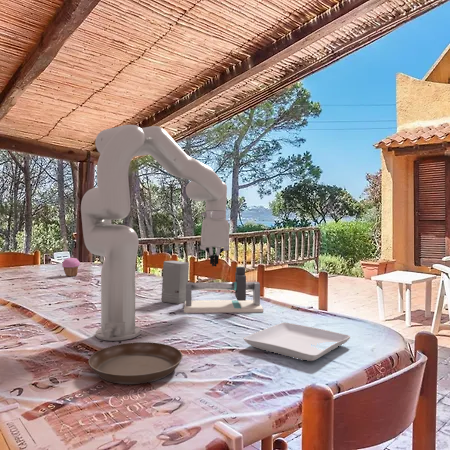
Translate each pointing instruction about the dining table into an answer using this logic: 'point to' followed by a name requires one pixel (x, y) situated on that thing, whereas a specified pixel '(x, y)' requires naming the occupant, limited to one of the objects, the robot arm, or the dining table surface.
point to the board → (222, 306)
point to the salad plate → (295, 340)
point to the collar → (240, 284)
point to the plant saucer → (135, 362)
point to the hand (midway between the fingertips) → (214, 266)
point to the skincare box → (174, 281)
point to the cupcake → (71, 266)
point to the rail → (221, 286)
